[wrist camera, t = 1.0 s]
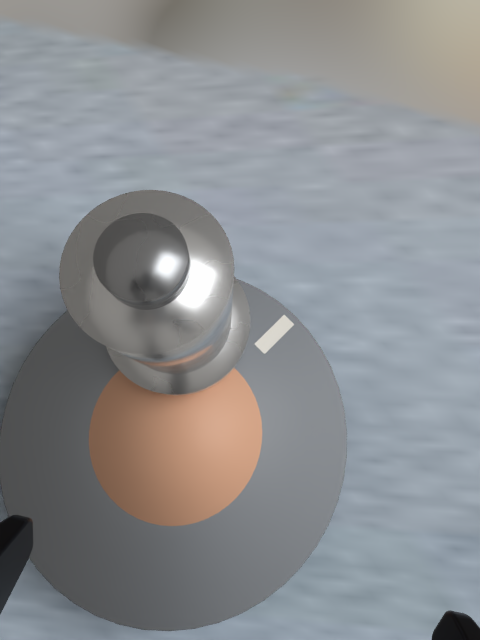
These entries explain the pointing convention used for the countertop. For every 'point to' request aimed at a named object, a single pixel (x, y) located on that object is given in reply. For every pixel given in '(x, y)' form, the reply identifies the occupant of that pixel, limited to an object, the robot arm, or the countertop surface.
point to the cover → (157, 290)
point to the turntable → (174, 474)
